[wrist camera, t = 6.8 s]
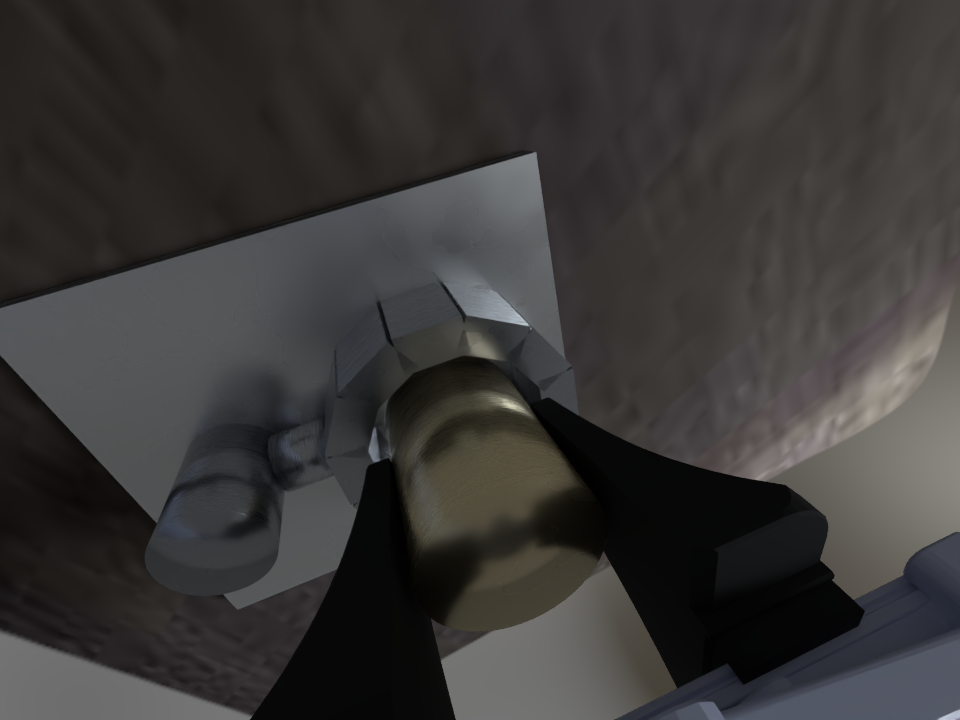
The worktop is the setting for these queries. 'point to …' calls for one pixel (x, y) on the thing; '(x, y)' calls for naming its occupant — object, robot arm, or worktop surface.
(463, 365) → the brass rounded plug
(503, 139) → the worktop surface
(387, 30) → the worktop surface
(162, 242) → the worktop surface
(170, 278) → the manifold plate
